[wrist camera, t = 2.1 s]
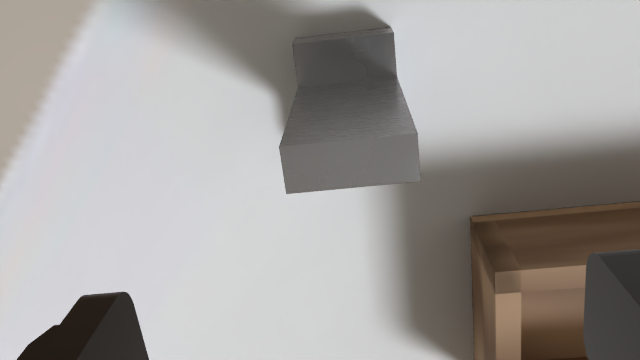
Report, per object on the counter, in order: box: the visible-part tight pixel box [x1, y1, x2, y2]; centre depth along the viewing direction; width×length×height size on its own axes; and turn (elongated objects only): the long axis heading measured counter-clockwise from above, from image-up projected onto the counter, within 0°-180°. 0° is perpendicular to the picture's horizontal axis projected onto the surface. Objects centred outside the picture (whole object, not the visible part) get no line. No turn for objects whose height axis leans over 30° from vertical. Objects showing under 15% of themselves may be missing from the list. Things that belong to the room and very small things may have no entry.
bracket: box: [279, 27, 420, 194], centre depth 22 cm, size 5×4×9 cm
